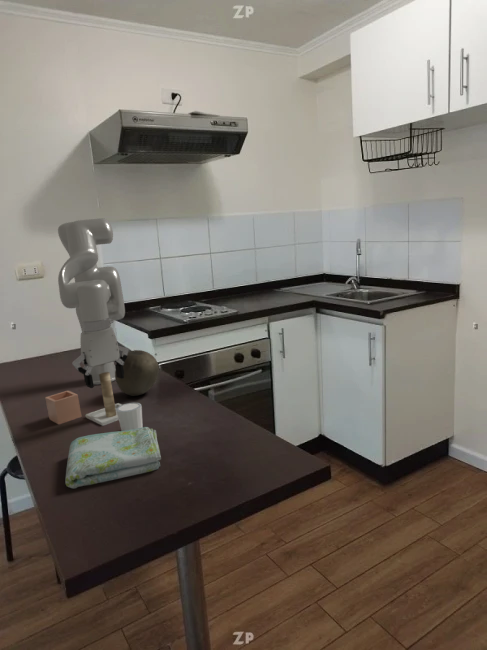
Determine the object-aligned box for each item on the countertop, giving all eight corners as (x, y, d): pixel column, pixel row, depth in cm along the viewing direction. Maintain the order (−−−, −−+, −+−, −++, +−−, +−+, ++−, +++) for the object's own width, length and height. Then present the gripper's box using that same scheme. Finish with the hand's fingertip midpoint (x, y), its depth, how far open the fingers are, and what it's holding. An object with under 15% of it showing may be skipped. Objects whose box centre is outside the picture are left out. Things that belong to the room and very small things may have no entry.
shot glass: (149, 426, 134) (146, 402, 132) (136, 436, 127) (132, 412, 126) (128, 425, 136) (124, 401, 135) (114, 435, 130) (110, 411, 128)
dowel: (113, 412, 146) (106, 371, 143) (118, 414, 143) (111, 373, 141) (104, 415, 144) (97, 374, 141) (109, 418, 141) (102, 375, 139)
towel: (165, 470, 108) (162, 449, 107) (66, 492, 103) (62, 470, 102) (157, 439, 125) (154, 421, 124) (71, 457, 120) (68, 438, 119)
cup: (72, 413, 150) (68, 390, 149) (82, 418, 145) (77, 394, 144) (49, 421, 146) (45, 397, 144) (58, 426, 140) (54, 401, 139)
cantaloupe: (130, 404, 153) (123, 359, 150) (112, 395, 164) (105, 353, 161) (169, 392, 161) (163, 349, 158) (148, 384, 172) (142, 344, 169)
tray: (119, 407, 151) (118, 403, 151) (137, 415, 143) (136, 410, 143) (86, 419, 144) (85, 414, 144) (103, 427, 136) (102, 422, 136)
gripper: (117, 319, 147) (125, 372, 150) (61, 331, 135) (72, 388, 139) (129, 320, 141) (137, 376, 144) (72, 333, 130) (83, 393, 133)
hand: (105, 382), depth 141 cm, fingers open, 9 cm apart
